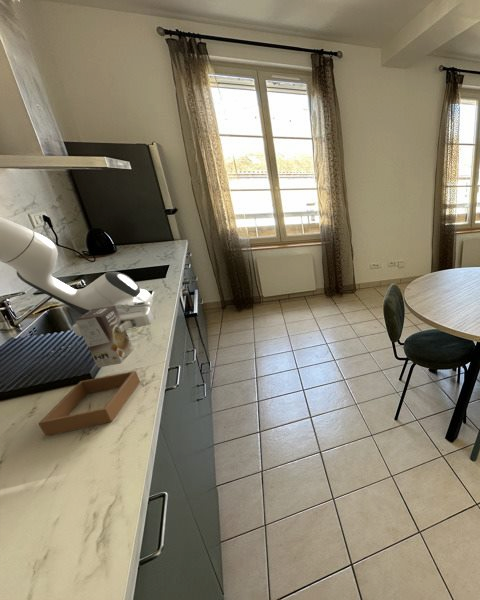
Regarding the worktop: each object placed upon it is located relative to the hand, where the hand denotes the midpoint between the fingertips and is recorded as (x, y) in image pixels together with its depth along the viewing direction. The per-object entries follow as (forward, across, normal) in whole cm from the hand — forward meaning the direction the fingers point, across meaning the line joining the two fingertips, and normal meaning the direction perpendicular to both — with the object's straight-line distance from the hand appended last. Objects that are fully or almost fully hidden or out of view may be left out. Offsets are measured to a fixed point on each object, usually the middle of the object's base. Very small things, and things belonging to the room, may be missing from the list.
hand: (103, 332), depth 99 cm
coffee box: (-1, 0, +10) cm, 10 cm away
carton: (+18, +2, +14) cm, 23 cm away
